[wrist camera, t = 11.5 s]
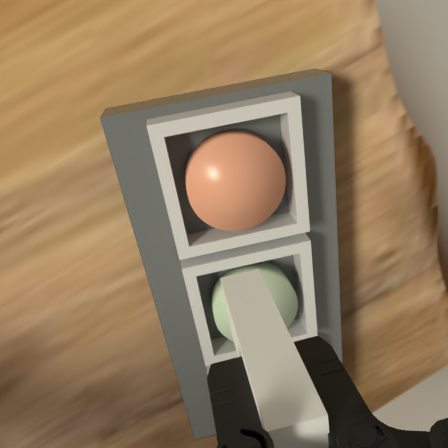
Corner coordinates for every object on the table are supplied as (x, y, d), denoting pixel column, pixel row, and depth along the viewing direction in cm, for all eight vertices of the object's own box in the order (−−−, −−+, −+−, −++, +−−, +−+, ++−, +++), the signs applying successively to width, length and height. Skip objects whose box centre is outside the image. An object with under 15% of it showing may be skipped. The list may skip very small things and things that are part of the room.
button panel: (192, 411, 39) (196, 458, 35) (105, 108, 26) (96, 124, 22) (331, 377, 40) (352, 418, 36) (313, 68, 27) (343, 76, 23)
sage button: (218, 335, 31) (221, 352, 30) (204, 271, 29) (207, 285, 27) (293, 318, 32) (301, 333, 30) (286, 252, 29) (294, 265, 27)
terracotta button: (194, 227, 27) (197, 240, 25) (175, 139, 24) (177, 147, 23) (282, 208, 27) (289, 220, 26) (272, 120, 25) (280, 126, 23)
